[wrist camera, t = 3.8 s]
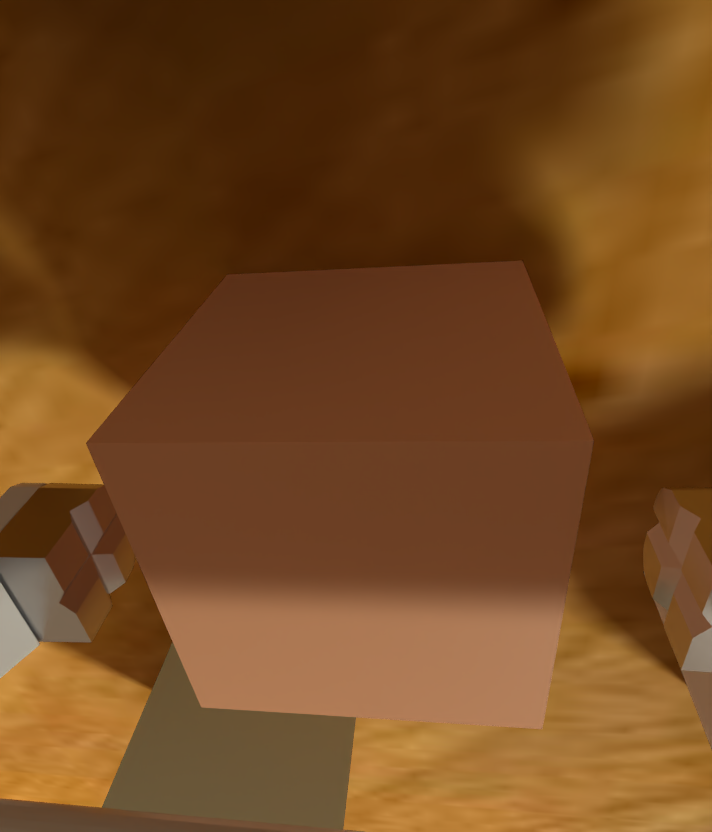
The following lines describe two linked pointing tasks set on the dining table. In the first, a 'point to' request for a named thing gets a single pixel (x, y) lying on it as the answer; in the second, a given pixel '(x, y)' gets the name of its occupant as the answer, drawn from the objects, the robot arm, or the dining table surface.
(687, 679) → the off-white cube
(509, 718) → the terracotta cube
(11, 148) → the dining table surface
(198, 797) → the sage green cube
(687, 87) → the dining table surface
